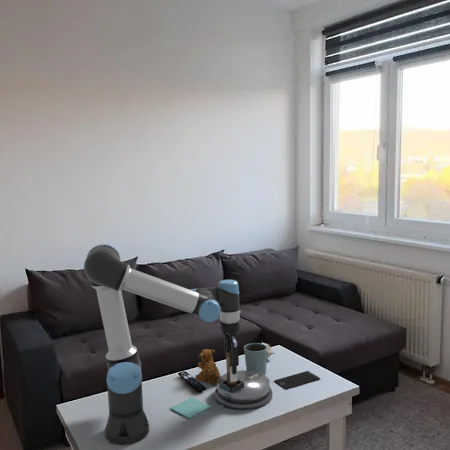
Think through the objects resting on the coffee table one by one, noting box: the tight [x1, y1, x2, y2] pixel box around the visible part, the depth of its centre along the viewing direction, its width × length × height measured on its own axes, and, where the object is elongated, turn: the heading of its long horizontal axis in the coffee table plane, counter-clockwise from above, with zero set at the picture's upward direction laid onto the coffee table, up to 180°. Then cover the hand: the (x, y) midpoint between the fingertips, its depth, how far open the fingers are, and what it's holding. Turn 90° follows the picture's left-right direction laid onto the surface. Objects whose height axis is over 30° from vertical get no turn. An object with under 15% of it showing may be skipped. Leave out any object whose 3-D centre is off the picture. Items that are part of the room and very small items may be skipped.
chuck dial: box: [216, 370, 271, 404], centre depth 199 cm, size 21×21×6 cm
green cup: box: [243, 342, 268, 376], centre depth 219 cm, size 10×10×12 cm
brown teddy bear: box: [195, 348, 221, 385], centre depth 213 cm, size 10×14×13 cm
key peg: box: [225, 351, 237, 387], centre depth 193 cm, size 4×4×14 cm
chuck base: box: [214, 387, 273, 411], centre depth 200 cm, size 23×23×2 cm
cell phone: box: [274, 370, 321, 391], centre depth 212 cm, size 9×18×1 cm, turn 118°
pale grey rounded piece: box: [261, 340, 275, 360], centre depth 234 cm, size 9×8×10 cm
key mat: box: [169, 397, 212, 420], centre depth 190 cm, size 11×11×1 cm
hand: (232, 378), depth 194 cm, fingers closed on key peg, 4 cm apart
